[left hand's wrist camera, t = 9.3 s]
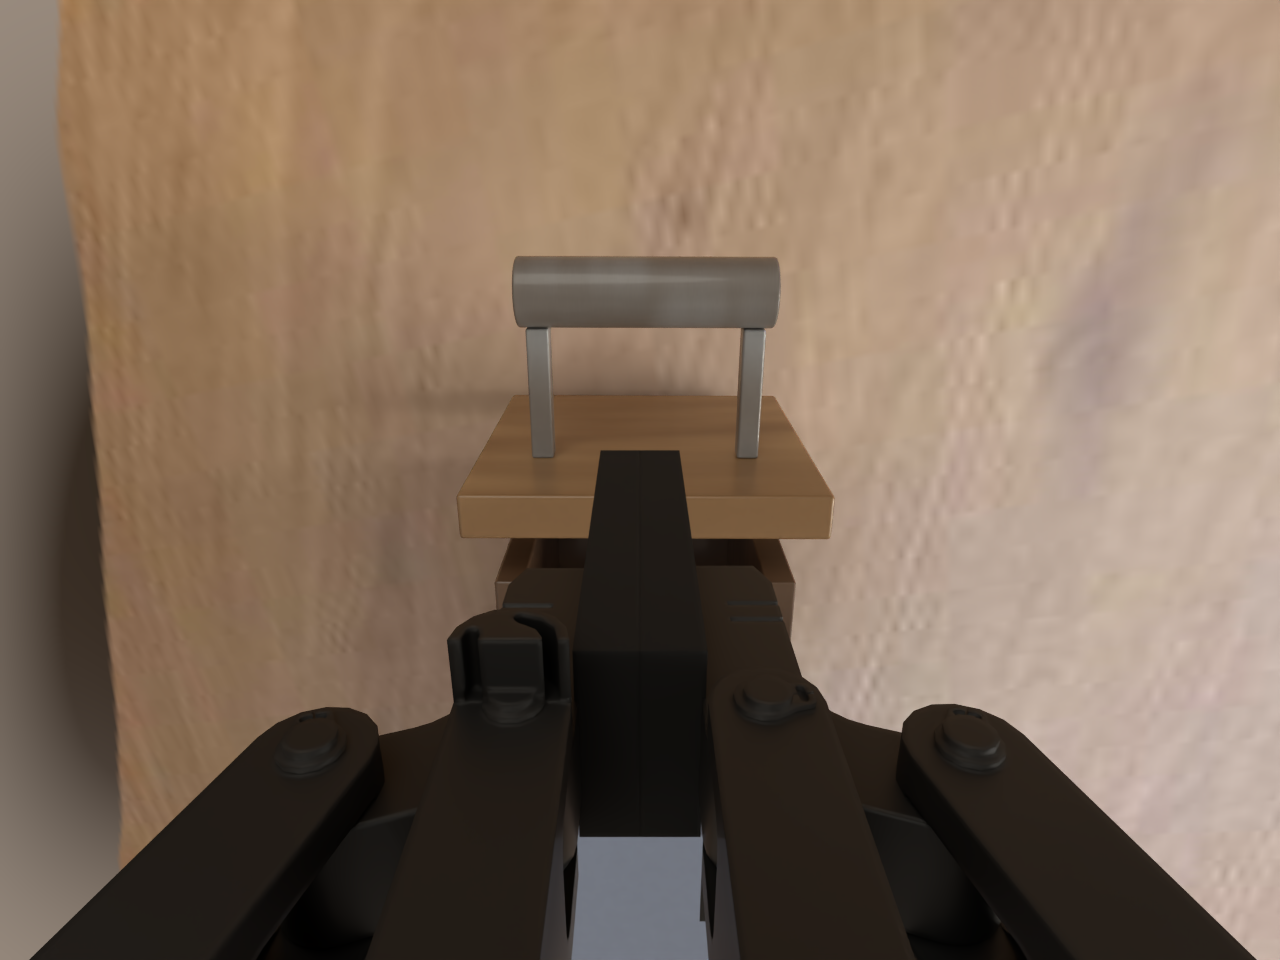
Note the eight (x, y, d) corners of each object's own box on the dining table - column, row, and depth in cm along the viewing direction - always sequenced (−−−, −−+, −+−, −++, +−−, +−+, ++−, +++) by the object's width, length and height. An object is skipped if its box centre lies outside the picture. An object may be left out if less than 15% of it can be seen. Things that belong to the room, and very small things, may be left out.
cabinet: (515, 623, 32) (457, 835, 22) (768, 623, 32) (829, 836, 22) (536, 928, 39) (498, 1201, 29) (745, 929, 39) (783, 1202, 29)
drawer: (503, 236, 25) (434, 270, 17) (786, 237, 26) (860, 271, 17) (535, 765, 34) (499, 967, 25) (748, 766, 34) (785, 968, 25)
